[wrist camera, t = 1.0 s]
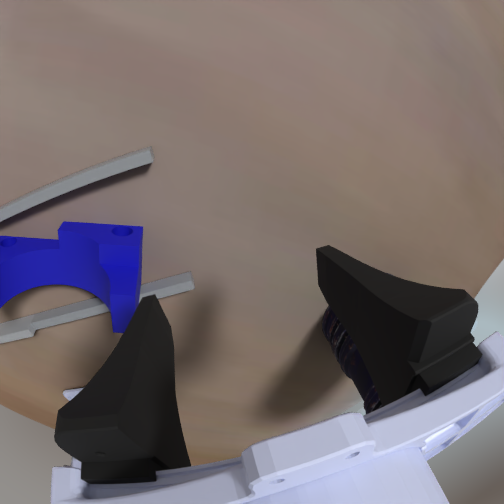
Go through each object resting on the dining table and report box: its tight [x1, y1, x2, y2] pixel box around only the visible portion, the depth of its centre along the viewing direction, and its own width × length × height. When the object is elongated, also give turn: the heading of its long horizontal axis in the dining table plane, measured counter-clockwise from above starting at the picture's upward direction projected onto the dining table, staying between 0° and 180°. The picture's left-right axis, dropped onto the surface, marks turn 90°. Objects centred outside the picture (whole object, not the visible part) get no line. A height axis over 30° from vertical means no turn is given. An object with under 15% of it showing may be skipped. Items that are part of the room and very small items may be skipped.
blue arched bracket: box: [0, 222, 143, 333], centre depth 18 cm, size 12×4×6 cm, turn 78°
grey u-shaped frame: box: [0, 146, 195, 344], centre depth 19 cm, size 11×30×2 cm, turn 100°
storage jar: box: [322, 273, 393, 414], centre depth 24 cm, size 10×10×15 cm
